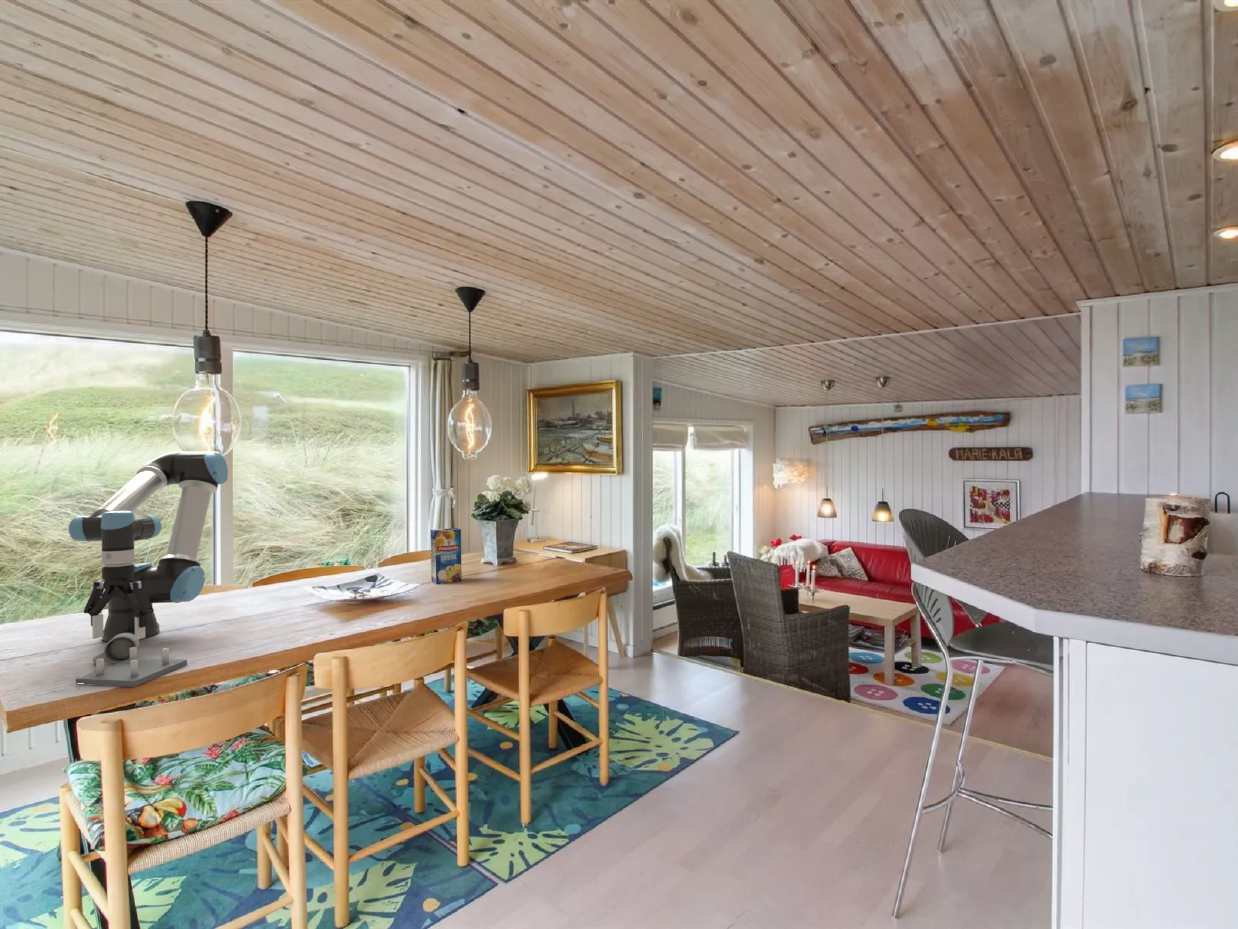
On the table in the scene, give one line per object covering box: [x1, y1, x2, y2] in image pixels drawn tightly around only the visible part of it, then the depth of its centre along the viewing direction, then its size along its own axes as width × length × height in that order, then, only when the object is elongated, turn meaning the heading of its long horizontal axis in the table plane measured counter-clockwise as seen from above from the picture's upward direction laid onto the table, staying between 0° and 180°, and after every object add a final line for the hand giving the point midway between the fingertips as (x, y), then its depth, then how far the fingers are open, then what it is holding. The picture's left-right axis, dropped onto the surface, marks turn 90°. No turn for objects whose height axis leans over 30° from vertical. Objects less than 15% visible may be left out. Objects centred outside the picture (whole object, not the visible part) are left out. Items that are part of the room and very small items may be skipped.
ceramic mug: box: [92, 633, 140, 664], centre depth 186 cm, size 11×8×8 cm
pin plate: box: [75, 647, 188, 688], centre depth 174 cm, size 17×17×6 cm
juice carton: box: [430, 527, 463, 585], centre depth 296 cm, size 12×8×24 cm, turn 123°
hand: (119, 638), depth 186 cm, fingers open, 13 cm apart
